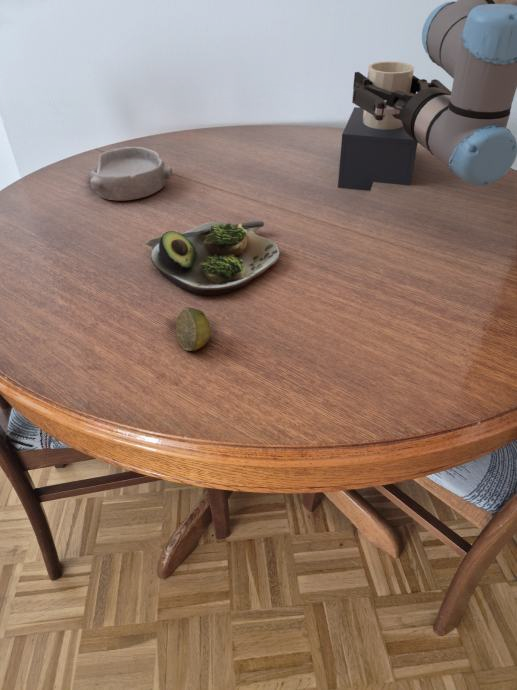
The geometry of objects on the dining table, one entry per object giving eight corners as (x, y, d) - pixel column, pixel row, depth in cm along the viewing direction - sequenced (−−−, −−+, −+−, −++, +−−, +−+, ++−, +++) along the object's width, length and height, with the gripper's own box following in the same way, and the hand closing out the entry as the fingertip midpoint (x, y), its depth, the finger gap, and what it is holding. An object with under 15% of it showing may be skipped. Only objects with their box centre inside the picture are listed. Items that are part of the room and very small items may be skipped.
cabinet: (349, 156, 109) (354, 107, 103) (413, 162, 106) (422, 111, 100) (337, 187, 99) (342, 133, 92) (408, 194, 96) (418, 140, 90)
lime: (202, 360, 64) (198, 327, 60) (167, 349, 65) (161, 317, 62) (219, 337, 67) (217, 305, 64) (185, 328, 68) (181, 296, 65)
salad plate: (228, 215, 91) (227, 189, 88) (308, 254, 81) (309, 226, 78) (132, 259, 81) (127, 231, 78) (210, 310, 71) (207, 280, 68)
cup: (406, 117, 98) (415, 62, 92) (403, 131, 93) (412, 74, 87) (365, 114, 100) (371, 60, 94) (360, 127, 94) (366, 71, 88)
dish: (96, 209, 93) (90, 181, 90) (88, 177, 103) (82, 151, 100) (179, 196, 97) (175, 168, 94) (163, 166, 107) (160, 141, 104)
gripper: (367, 153, 80) (321, 105, 97) (493, 140, 83) (427, 96, 100) (373, 99, 75) (324, 59, 92) (507, 88, 78) (435, 51, 95)
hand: (377, 78), depth 96 cm, fingers closed on cup, 7 cm apart
